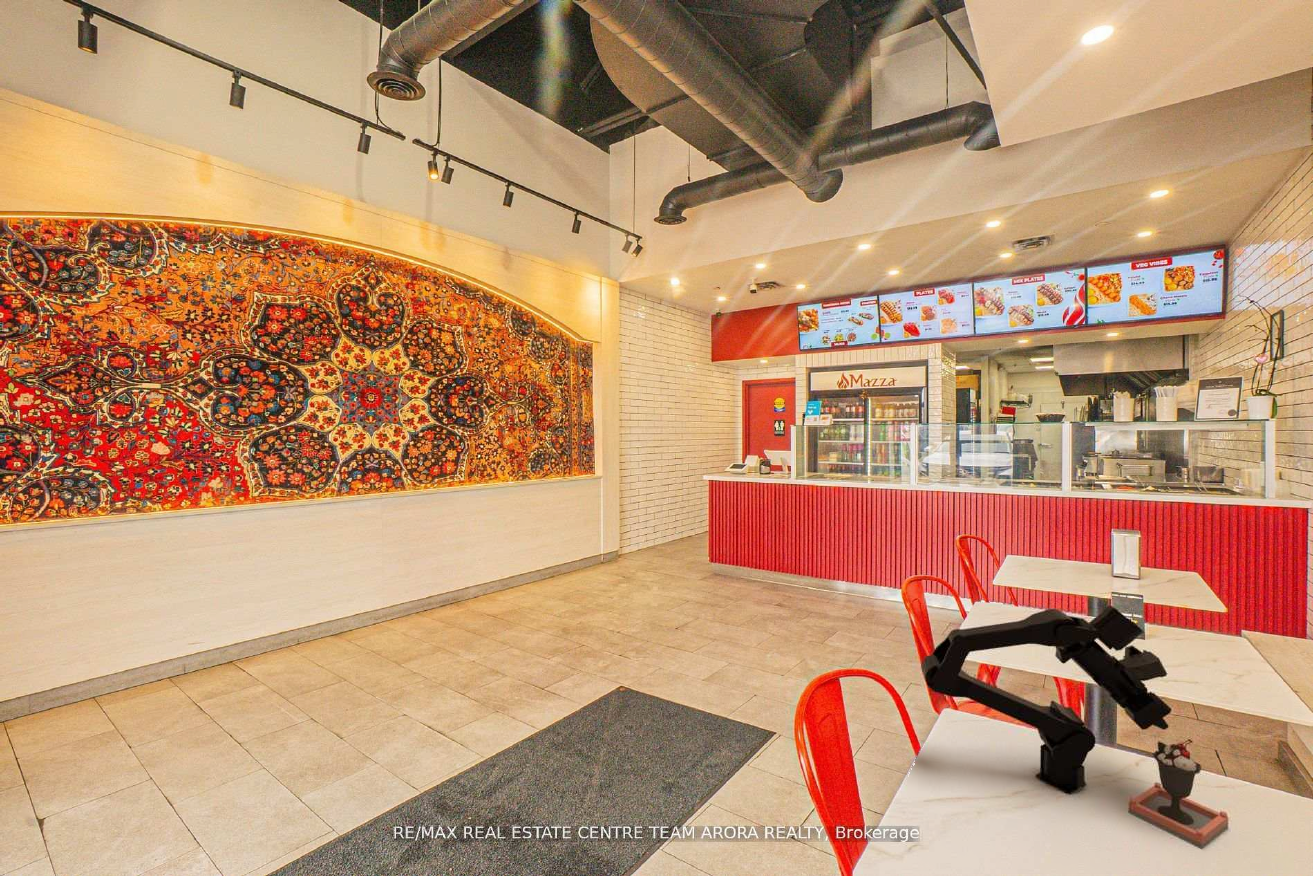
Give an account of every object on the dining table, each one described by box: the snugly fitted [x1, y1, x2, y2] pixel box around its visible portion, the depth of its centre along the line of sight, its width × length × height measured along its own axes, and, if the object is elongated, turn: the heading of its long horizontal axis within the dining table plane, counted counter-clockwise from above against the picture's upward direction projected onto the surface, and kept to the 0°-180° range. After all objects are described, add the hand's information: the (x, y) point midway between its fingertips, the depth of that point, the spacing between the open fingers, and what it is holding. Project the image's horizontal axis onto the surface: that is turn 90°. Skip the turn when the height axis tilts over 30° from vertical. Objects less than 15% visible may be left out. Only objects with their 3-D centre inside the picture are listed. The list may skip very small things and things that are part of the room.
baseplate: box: [1128, 781, 1229, 849], centre depth 107 cm, size 11×11×3 cm
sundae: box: [1152, 738, 1202, 824], centre depth 107 cm, size 7×7×15 cm
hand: (1165, 727), depth 113 cm, fingers closed
